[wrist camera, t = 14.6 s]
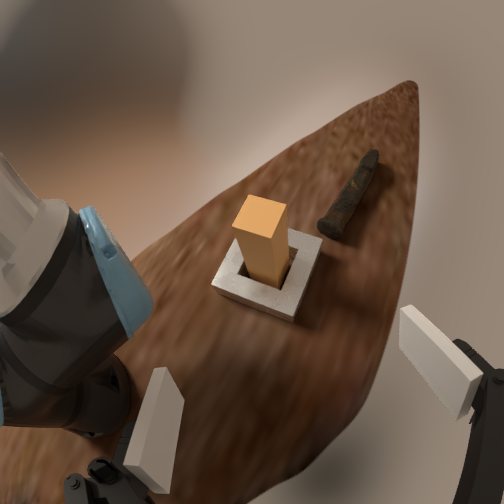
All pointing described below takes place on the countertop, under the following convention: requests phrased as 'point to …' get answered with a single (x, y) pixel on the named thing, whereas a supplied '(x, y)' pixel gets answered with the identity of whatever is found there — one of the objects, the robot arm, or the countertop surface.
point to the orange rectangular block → (263, 239)
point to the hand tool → (349, 197)
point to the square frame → (263, 296)
